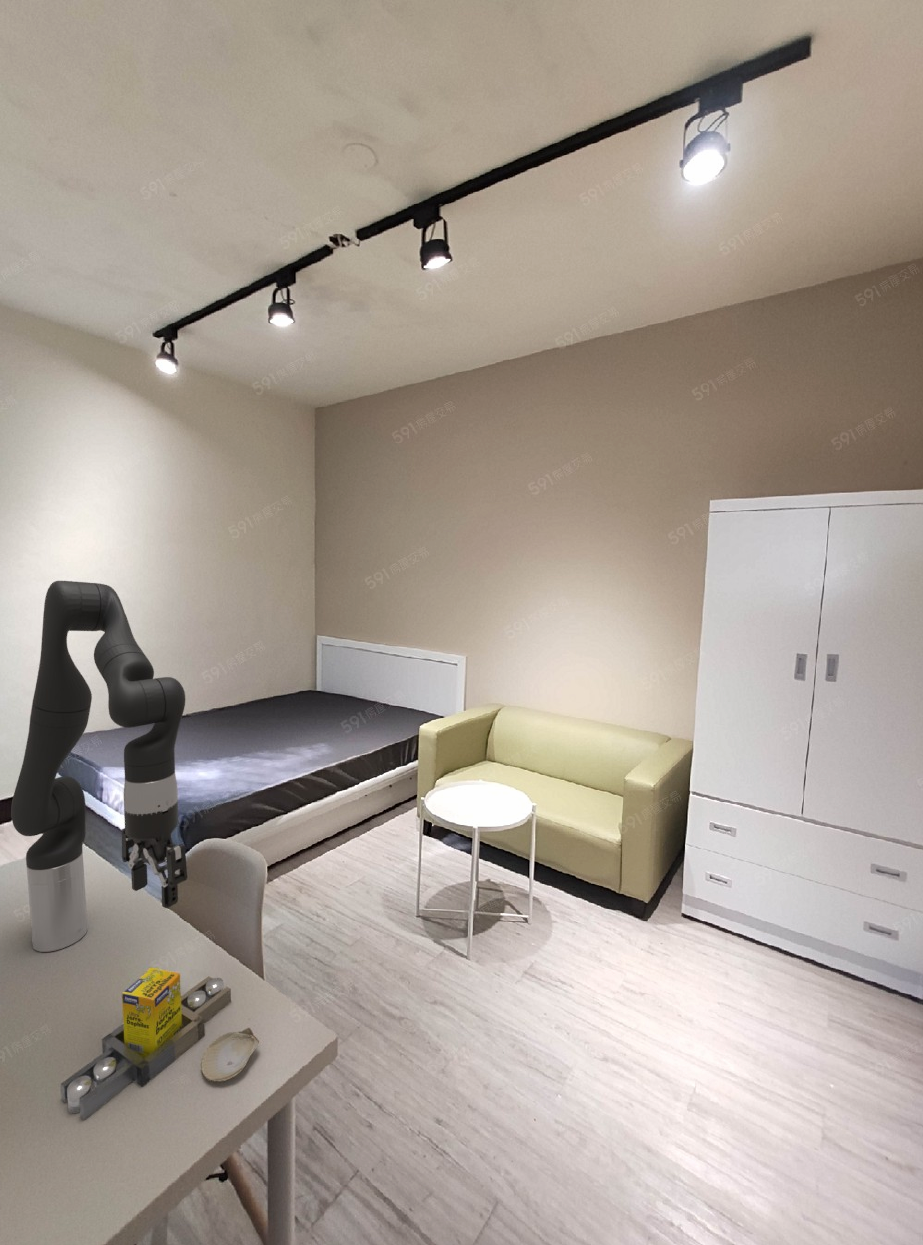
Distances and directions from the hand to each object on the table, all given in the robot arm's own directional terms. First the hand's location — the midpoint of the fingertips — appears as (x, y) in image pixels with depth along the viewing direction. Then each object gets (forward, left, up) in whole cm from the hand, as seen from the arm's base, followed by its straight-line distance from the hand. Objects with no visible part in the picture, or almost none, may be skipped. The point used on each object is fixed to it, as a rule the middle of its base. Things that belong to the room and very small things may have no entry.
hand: (154, 896), depth 90 cm
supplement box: (+3, -3, -23) cm, 23 cm away
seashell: (+16, +1, -23) cm, 28 cm away
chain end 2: (+3, +3, -23) cm, 23 cm away
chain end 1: (+3, -9, -23) cm, 25 cm away
